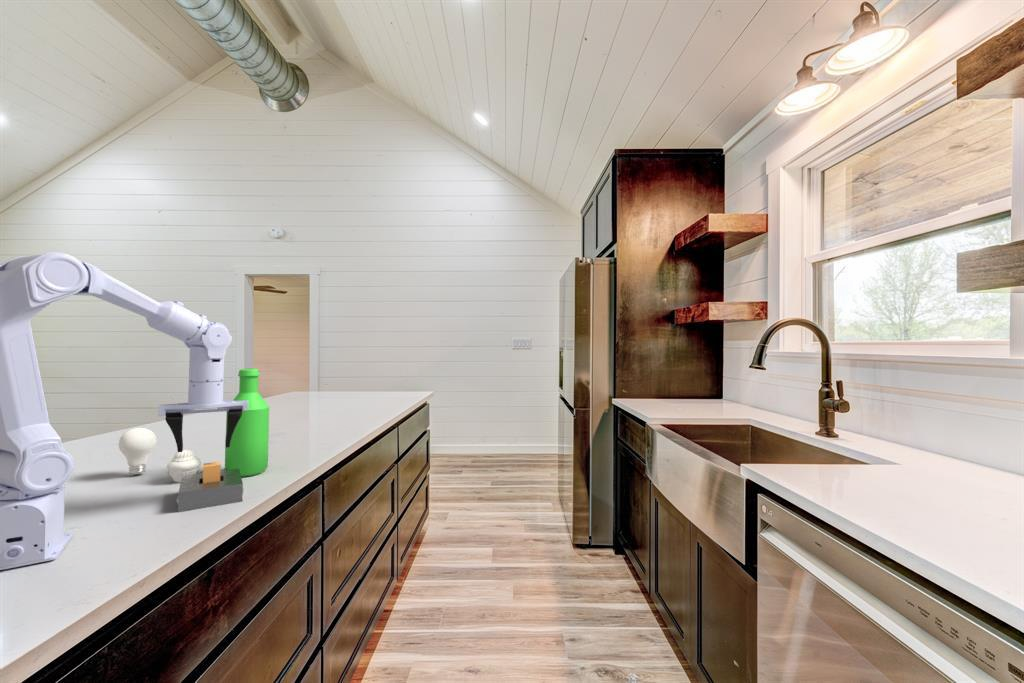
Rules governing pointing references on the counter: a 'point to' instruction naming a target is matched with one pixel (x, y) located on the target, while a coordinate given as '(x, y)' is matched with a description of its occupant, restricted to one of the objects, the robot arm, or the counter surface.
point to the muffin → (183, 465)
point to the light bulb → (137, 448)
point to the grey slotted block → (209, 490)
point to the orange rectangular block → (211, 472)
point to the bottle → (249, 429)
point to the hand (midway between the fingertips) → (204, 448)
